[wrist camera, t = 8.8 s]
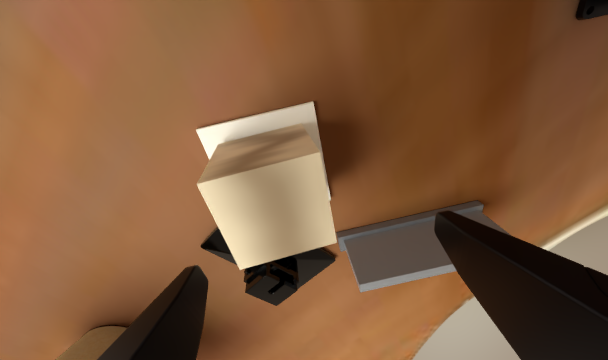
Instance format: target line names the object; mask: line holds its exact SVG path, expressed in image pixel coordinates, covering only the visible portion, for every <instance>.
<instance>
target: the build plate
mask: <svg viewBox="0 0 608 360" xmlns="http://www.w3.org/2000/svg"><path fill="white" fill-rule="evenodd" d="M201 248H203V249H205V250H207V251H209V252H211V253H213V254H215V255H217V256H219V257H221V258H224V259H226V260H228V261H230V262H232V263H234V264H236V265H237V263H236V261H235V259H234V257H233V255H232V253H231V251H230V249H229V247H228V245H227V243H226V241H225V239H224V237H223V235H222V233H221V231H220V229H219V228H218V227H217V228H216V229H215V230H214V231H213V232H212V233H211V234H210V235H209V236H208V237H207V239H206V240H205V241H204V242H203V243H202V244H201ZM334 261H335V257H334V256H332V255H331V254H329V253H327V252H326V251H324V250H323V249H321V248H316V249H312V250H309V251H305V252H302V253H298V254H295V255H291V256H288V257H284V258H281V259H277V260H273V261H270V262H266V263H263V264H259V265H256V266H252V267H249V268H245V271H244V273H245V276H244V282H245V283H246V290H245V293H247V294H250V295H252V296H254V297H257V298H259V299H261V300H264V301H266V302H268V303H271V304H273V305H275V306H277V305H279V304H280V303H281V302H283V301H284V300H285V299H287V298H288V297H289V296H291V295H292V294H293V293H295V292H296V291H297V289H298V288H300V287H301V286H302V285H304V284H305V283H306V282H308V281H309V280H310V279H312V278H313V277H314V276H316V275H317V274H318V273H320V272H321V271H322V270H324V269H325V268H326V267H328V266H329V265H330V264H332V263H333V262H334Z"/></svg>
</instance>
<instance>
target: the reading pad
mask: <svg viewBox="0 0 608 360" xmlns="http://www.w3.org/2000/svg"><path fill="white" fill-rule="evenodd" d="M300 123H301V124H302V125H303V127H304V128H305V130H306V131H307V133H308V134H309V136H310V137H311V139H312V140H313V142H314V143H315V145H316V146H317V148H318V149H319V151H320V154H321V159H322V165H323V170H324V175H325V181H326V186H327V192H328V197H329V200H331V197H330V191H329V186H328V180H327V175H326V169H325V164H324V158H323V153H322V147H321V142H320V136H319V130H318V125H317V119H316V114H315V108H314V103H313V101H311V102H307V103H303V104H299V105H295V106H290V107H286V108H282V109H278V110H273V111H269V112H265V113H261V114H256V115H252V116H248V117H244V118H239V119H235V120H231V121H227V122H223V123H218V124H214V125H210V126H206V127H201V128H197V129H196V131H197V133H198V135H199V138H200V140H201V142H202V144H203V146H204V149H205V151H206V153H207V155H208V157H209V160H210V158H211V156H212V155H213V153H214V151H215V149H216V147H217V145H218V144H221V143H225V142H229V141H233V140H237V139H241V138H245V137H248V136H252V135H256V134H260V133H264V132H268V131H272V130H276V129H280V128H284V127H288V126H292V125H296V124H300Z"/></svg>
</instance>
